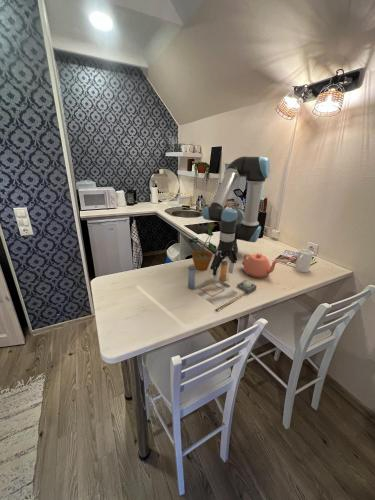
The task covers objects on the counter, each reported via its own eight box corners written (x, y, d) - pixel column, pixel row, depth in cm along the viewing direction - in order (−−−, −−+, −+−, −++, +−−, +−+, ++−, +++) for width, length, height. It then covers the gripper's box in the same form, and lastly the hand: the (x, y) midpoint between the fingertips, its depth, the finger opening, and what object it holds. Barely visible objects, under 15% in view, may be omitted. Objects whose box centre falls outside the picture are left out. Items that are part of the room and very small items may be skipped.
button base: (236, 288, 117) (237, 284, 116) (244, 284, 121) (245, 280, 120) (248, 294, 112) (248, 290, 111) (255, 289, 116) (256, 285, 115)
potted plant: (221, 268, 137) (226, 221, 125) (202, 279, 124) (206, 228, 112) (199, 260, 148) (202, 216, 136) (180, 269, 135) (181, 221, 123)
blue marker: (186, 287, 114) (186, 266, 110) (191, 284, 116) (192, 264, 112) (191, 290, 112) (191, 269, 107) (195, 287, 114) (196, 267, 109)
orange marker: (218, 281, 123) (219, 261, 118) (222, 279, 125) (224, 260, 120) (222, 283, 121) (224, 264, 116) (227, 281, 123) (229, 262, 118)
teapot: (281, 275, 131) (285, 256, 126) (268, 285, 120) (272, 264, 116) (248, 263, 145) (250, 245, 140) (234, 271, 135) (237, 252, 130)
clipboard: (183, 288, 115) (183, 286, 114) (209, 276, 127) (209, 274, 127) (217, 311, 98) (217, 309, 98) (244, 295, 111) (244, 293, 110)
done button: (240, 287, 116) (241, 282, 115) (245, 285, 119) (246, 280, 118) (247, 291, 113) (248, 286, 112) (252, 288, 116) (253, 283, 115)
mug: (301, 274, 133) (306, 256, 128) (288, 269, 139) (292, 251, 134) (311, 270, 139) (316, 252, 134) (299, 264, 145) (303, 247, 141)
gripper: (216, 247, 103) (212, 286, 111) (247, 237, 118) (242, 272, 126) (204, 242, 108) (202, 280, 117) (235, 233, 123) (231, 267, 132)
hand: (223, 276), depth 122 cm, fingers open, 12 cm apart
